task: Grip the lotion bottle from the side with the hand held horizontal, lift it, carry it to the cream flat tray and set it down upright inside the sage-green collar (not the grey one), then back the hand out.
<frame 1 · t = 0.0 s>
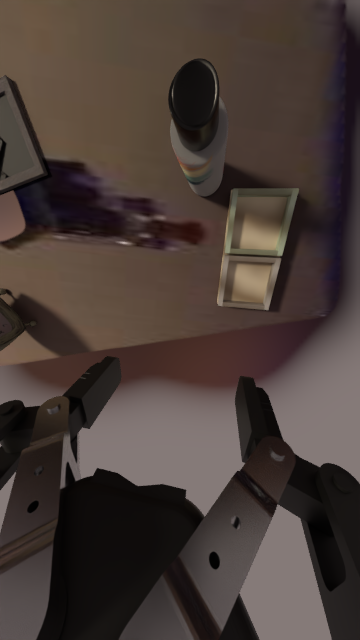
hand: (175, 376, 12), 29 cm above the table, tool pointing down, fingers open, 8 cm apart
lotion bottle: (205, 177, 31), on the table
cream flat tray: (249, 254, 35), on the table
tabletop clock: (17, 311, 51), on the table
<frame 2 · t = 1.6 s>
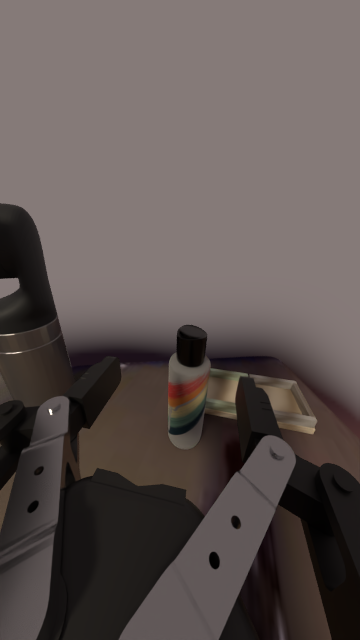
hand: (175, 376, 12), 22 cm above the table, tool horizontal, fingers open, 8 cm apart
lotion bottle: (184, 433, 31), on the table
cream flat tray: (248, 400, 38), on the table
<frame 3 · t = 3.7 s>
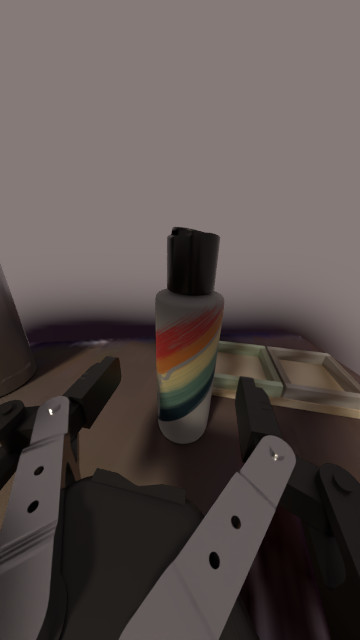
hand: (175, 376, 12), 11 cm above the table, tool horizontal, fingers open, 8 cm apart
lotion bottle: (182, 421, 21), on the table
cream flat tray: (269, 379, 28), on the table
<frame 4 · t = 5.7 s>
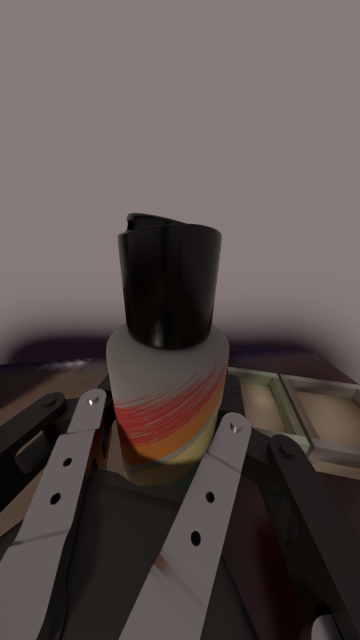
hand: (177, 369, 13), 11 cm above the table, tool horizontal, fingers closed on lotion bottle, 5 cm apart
lotion bottle: (167, 499, 15), on the table, touching gripper
cream flat tray: (284, 420, 22), on the table
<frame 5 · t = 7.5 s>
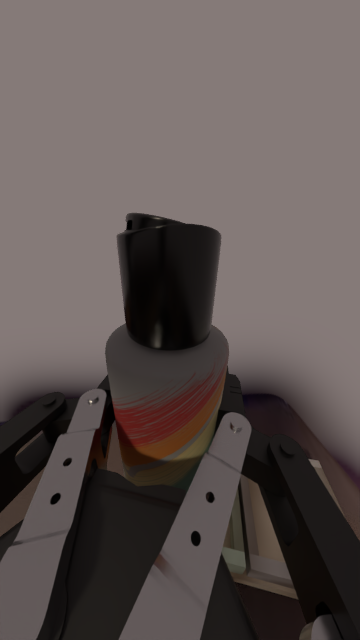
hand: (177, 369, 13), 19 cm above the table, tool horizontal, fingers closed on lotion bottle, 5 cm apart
lotion bottle: (166, 499, 15), point 7 cm above the table, touching gripper
cream flat tray: (235, 506, 20), on the table
when the fingers open (13 cm above the table, at t = 9.6 s): lotion bottle stays where it is, resting on cream flat tray.
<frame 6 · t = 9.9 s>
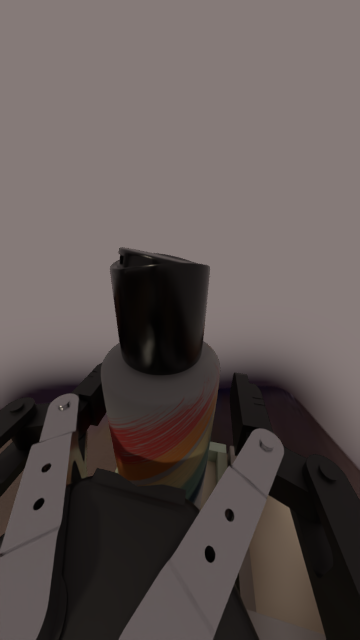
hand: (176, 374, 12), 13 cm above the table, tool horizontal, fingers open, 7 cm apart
lotion bottle: (164, 508, 15), point 1 cm above the table, touching cream flat tray
cream flat tray: (226, 527, 15), on the table
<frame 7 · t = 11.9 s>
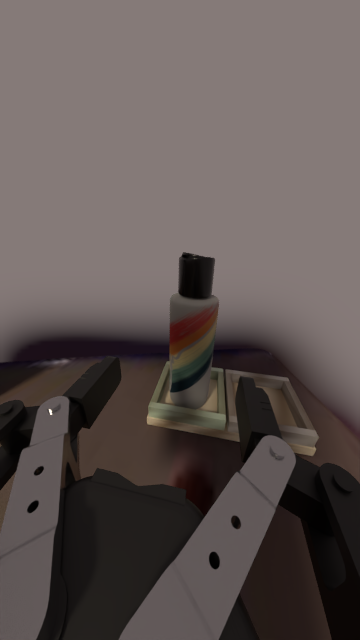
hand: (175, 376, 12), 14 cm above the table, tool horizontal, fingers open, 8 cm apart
lotion bottle: (188, 396, 27), point 1 cm above the table, touching cream flat tray
cream flat tray: (223, 405, 27), on the table
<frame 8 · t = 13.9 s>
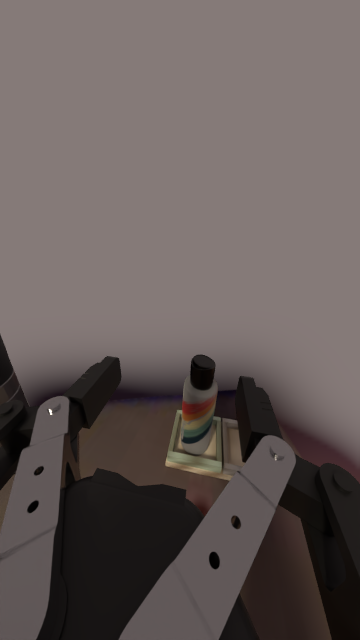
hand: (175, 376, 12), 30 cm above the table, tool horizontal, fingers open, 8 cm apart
lotion bottle: (194, 441, 36), point 1 cm above the table, touching cream flat tray
cream flat tray: (220, 449, 36), on the table
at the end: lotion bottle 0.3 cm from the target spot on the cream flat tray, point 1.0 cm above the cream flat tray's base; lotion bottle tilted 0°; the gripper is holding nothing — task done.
